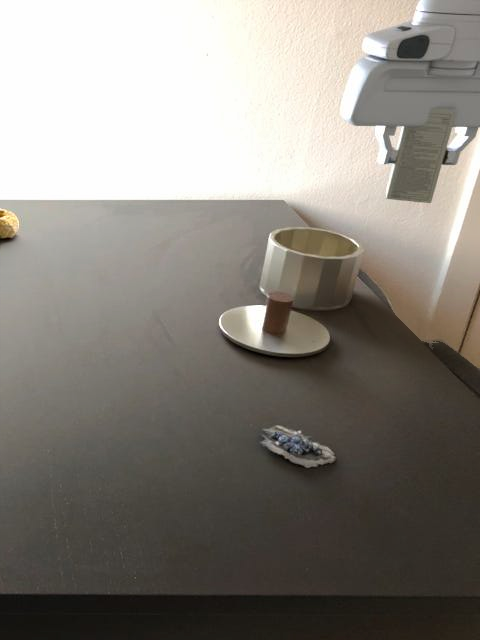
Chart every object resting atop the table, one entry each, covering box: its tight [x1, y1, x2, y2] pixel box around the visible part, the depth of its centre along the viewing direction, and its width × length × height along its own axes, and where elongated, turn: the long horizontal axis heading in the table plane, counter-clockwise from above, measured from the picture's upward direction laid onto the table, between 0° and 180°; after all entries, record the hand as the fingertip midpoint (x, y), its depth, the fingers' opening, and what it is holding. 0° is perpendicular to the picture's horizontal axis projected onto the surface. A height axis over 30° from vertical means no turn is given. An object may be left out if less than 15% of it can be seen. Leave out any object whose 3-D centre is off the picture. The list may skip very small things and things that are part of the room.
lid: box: [218, 292, 331, 358], centre depth 103 cm, size 15×15×6 cm
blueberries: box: [259, 425, 337, 469], centre depth 80 cm, size 7×8×2 cm
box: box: [385, 108, 457, 204], centre depth 89 cm, size 5×4×11 cm
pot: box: [259, 226, 365, 312], centre depth 116 cm, size 14×14×8 cm
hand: (415, 163), depth 90 cm, fingers closed on box, 6 cm apart
